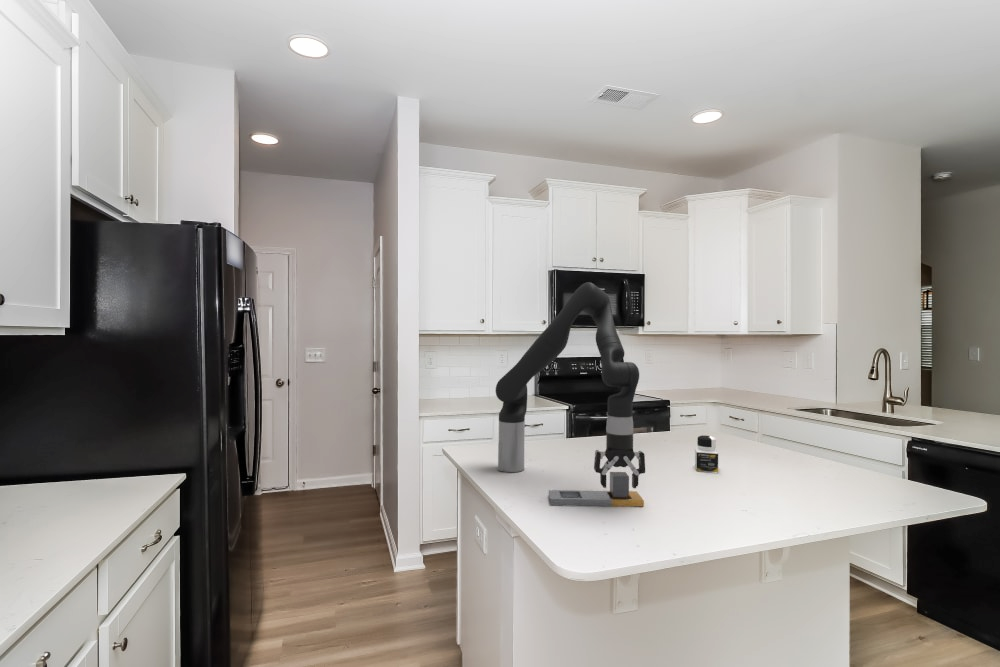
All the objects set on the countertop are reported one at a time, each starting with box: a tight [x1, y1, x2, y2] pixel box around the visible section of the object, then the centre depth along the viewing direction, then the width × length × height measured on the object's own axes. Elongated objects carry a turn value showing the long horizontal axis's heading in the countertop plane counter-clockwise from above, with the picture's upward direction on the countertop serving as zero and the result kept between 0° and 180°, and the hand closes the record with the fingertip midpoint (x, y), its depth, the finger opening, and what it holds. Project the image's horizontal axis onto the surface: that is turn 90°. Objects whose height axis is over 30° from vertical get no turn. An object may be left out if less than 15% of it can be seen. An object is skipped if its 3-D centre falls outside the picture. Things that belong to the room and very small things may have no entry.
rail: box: [548, 489, 645, 507], centre depth 145 cm, size 26×8×2 cm, turn 89°
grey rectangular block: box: [609, 471, 630, 499], centre depth 145 cm, size 4×4×8 cm
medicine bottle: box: [694, 434, 719, 474], centre depth 180 cm, size 7×7×12 cm
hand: (619, 487), depth 145 cm, fingers open, 8 cm apart
